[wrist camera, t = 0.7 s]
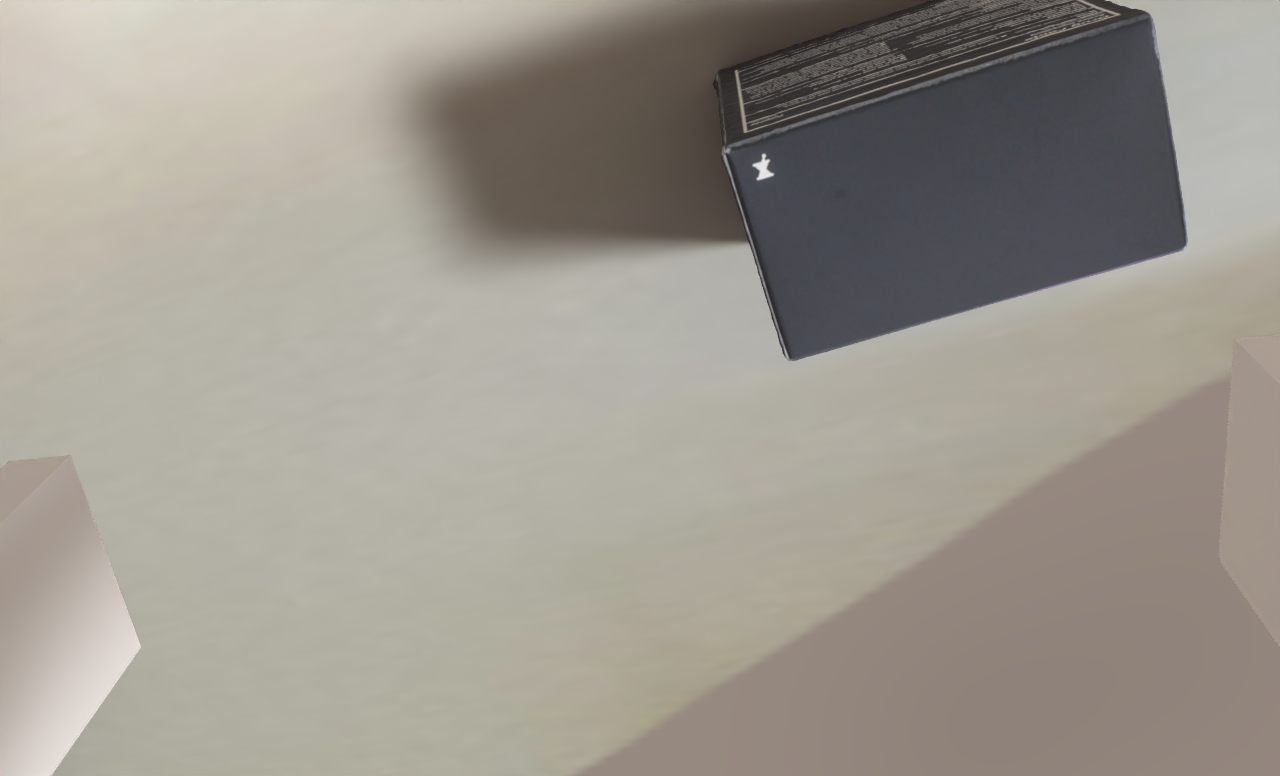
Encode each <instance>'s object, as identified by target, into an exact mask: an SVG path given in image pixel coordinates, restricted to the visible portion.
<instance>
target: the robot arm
mask: <svg viewBox="0 0 1280 776" xmlns="http://www.w3.org/2000/svg"><path fill="white" fill-rule="evenodd" d="M1228 416H1229V417H1228V430H1227V444H1226V458H1225V459H1226V460H1225V472H1224V486H1223V501H1222V517H1221V530H1220V543H1219V558H1218V559H1219V560H1220V562H1221V563H1222V565H1223V566H1224V568H1225V569H1226V570H1227V572H1228V573H1229V575H1230V576H1231V578H1232V579H1233V581H1234V582H1235V583H1236V585H1237V586H1238V588H1239V589H1240V591H1241V592H1242V593H1243V595H1244V596H1245V598H1246V599H1247V601H1248V602H1249V604H1250V605H1251V606H1252V608H1253V609H1254V611H1255V612H1256V614H1257V615H1258V617H1259V618H1260V619H1261V621H1262V622H1263V624H1264V625H1265V627H1266V628H1267V630H1268V631H1269V632H1270V634H1271V635H1272V637H1273V638H1274V640H1275V641H1276V643H1277V644H1278V645H1279V647H1280V334H1278V335H1268V336H1258V337H1248V338H1238V339H1234V344H1233V358H1232V372H1231V388H1230V401H1229V415H1228ZM140 648H141V646H140V643H139V641H138V638H137V635H136V632H135V630H134V627H133V624H132V622H131V619H130V616H129V613H128V611H127V608H126V605H125V603H124V600H123V597H122V594H121V592H120V589H119V586H118V584H117V581H116V578H115V575H114V573H113V570H112V567H111V565H110V562H109V559H108V556H107V554H106V551H105V548H104V546H103V543H102V540H101V537H100V535H99V532H98V529H97V527H96V524H95V521H94V518H93V516H92V513H91V510H90V508H89V505H88V502H87V499H86V497H85V494H84V491H83V489H82V486H81V483H80V480H79V478H78V475H77V472H76V470H75V467H74V464H73V461H72V459H71V456H70V455H68V456H58V457H48V458H38V459H28V460H18V461H9V462H8V463H7V464H6V465H5V466H3V467H2V468H1V469H0V776H51V775H52V774H53V772H54V771H55V769H56V768H57V767H58V765H59V764H60V762H61V761H62V759H63V758H64V757H65V755H66V754H67V752H68V751H69V749H70V748H71V747H72V745H73V744H74V742H75V741H76V739H77V738H78V737H79V735H80V734H81V732H82V731H83V729H84V728H85V727H86V725H87V724H88V722H89V721H90V719H91V718H92V716H93V715H94V714H95V712H96V711H97V709H98V708H99V706H100V705H101V704H102V702H103V701H104V699H105V698H106V696H107V695H108V694H109V692H110V691H111V689H112V688H113V686H114V685H115V684H116V682H117V681H118V679H119V678H120V676H121V675H122V674H123V672H124V671H125V669H126V668H127V666H128V665H129V664H130V662H131V661H132V659H133V658H134V656H135V655H136V653H137V652H138V651H139V649H140Z"/></svg>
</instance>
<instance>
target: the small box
mask: <svg viewBox="0 0 1280 776" xmlns="http://www.w3.org/2000/svg"><path fill="white" fill-rule="evenodd" d="M713 86H714V88H715V89H716V90H717V95H718V99H719V116H720V124H721V134H722V144H723V148H722V152H721V158H722V160H723V163H724V165H725V168H726V170H727V173H728V176H729V180H730V183H731V186H732V189H733V192H734V195H735V199H736V202H737V205H738V209H739V212H740V215H741V218H742V221H743V224H744V228H745V232H746V235H747V238H748V241H749V244H750V247H751V250H752V253H753V256H754V259H755V263H756V266H757V269H758V273H759V276H760V279H761V283H762V287H763V290H764V293H765V296H766V299H767V303H768V306H769V308H770V311H771V316H772V320H773V323H774V325H775V328H776V331H777V334H778V338H779V342H780V345H781V347H782V351H783V354H784V356H785V357H786V358H787V359H788V360H789V361H795V360H799V359H802V358H805V357H808V356H813V355H816V354H819V353H823V352H827V351H830V350H834V349H837V348H841V347H844V346H848V345H851V344H854V343H858V342H861V341H865V340H868V339H872V338H875V337H878V336H882V335H885V334H889V333H892V332H896V331H899V330H903V329H906V328H910V327H913V326H917V325H920V324H924V323H927V322H931V321H934V320H938V319H941V318H945V317H948V316H951V315H955V314H958V313H962V312H965V311H969V310H972V309H976V308H979V307H983V306H986V305H989V304H993V303H996V302H1000V301H1004V300H1008V299H1011V298H1015V297H1018V296H1022V295H1026V294H1029V293H1033V292H1036V291H1040V290H1043V289H1047V288H1050V287H1054V286H1057V285H1061V284H1065V283H1068V282H1072V281H1075V280H1079V279H1082V278H1086V277H1090V276H1093V275H1097V274H1100V273H1104V272H1108V271H1111V270H1115V269H1119V268H1122V267H1126V266H1129V265H1133V264H1136V263H1140V262H1143V261H1147V260H1150V259H1154V258H1158V257H1162V256H1165V255H1169V254H1172V253H1176V252H1179V251H1182V250H1184V249H1185V248H1186V246H1187V243H1188V239H1187V230H1186V221H1185V212H1184V205H1183V199H1182V192H1181V186H1180V181H1179V173H1178V167H1177V160H1176V153H1175V146H1174V142H1173V136H1172V129H1171V125H1170V117H1169V111H1168V105H1167V98H1166V92H1165V87H1164V81H1163V75H1162V69H1161V63H1160V57H1159V51H1158V46H1157V39H1156V32H1155V27H1154V23H1153V19H1152V17H1151V15H1150V14H1149V13H1147V12H1145V11H1142V10H1138V9H1130V8H1127V7H1124V6H1119V5H1117V4H1114V3H1112V2H1111V1H1106V0H934V1H927V2H926V3H924V4H921V5H919V6H916V7H912V8H909V9H907V10H903V11H899V12H896V13H894V14H891V15H888V16H885V17H882V18H879V19H876V20H873V21H870V22H865V23H863V24H860V25H857V26H854V27H851V28H845V29H841V30H839V31H836V32H833V33H831V34H829V35H824V36H822V37H820V38H817V39H814V40H811V41H807V42H804V43H802V44H796V45H794V46H792V47H789V48H786V49H783V50H779V51H777V52H774V53H772V54H769V55H765V56H762V57H759V58H756V59H754V60H751V61H748V62H745V63H742V64H739V65H736V66H733V67H730V68H726V69H722V70H720V71H719V72H718V75H717V76H716V79H715V81H714V83H713Z"/></svg>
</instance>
